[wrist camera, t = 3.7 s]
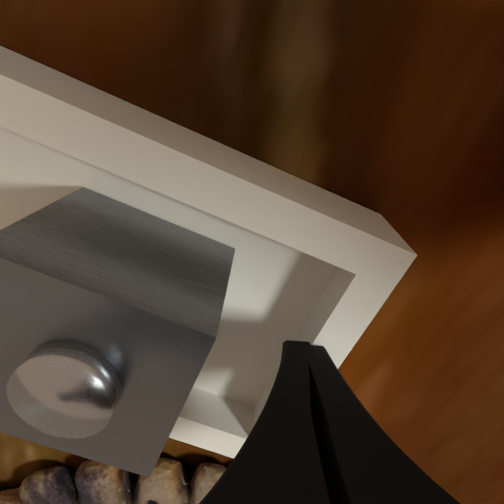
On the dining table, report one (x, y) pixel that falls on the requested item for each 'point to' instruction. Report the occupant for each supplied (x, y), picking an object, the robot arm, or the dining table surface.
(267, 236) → the white rectangular tray
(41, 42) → the dining table surface
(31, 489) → the mask
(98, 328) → the rider
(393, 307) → the dining table surface
